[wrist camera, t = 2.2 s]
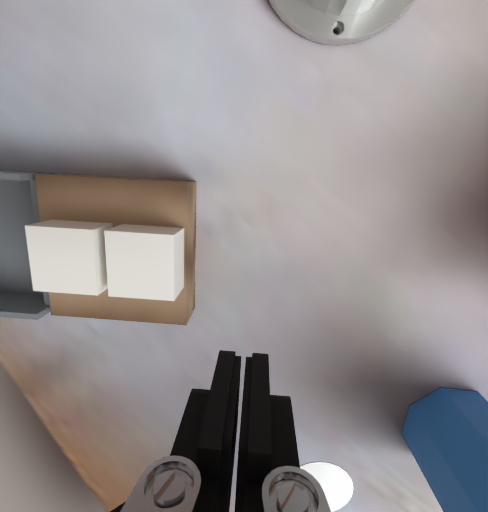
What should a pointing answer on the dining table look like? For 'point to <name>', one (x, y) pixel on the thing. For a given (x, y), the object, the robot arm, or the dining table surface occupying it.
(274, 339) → the dining table surface
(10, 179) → the tray
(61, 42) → the dining table surface
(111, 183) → the board
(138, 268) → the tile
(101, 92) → the dining table surface
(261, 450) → the robot arm
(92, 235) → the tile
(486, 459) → the water bottle
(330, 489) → the wineglass
